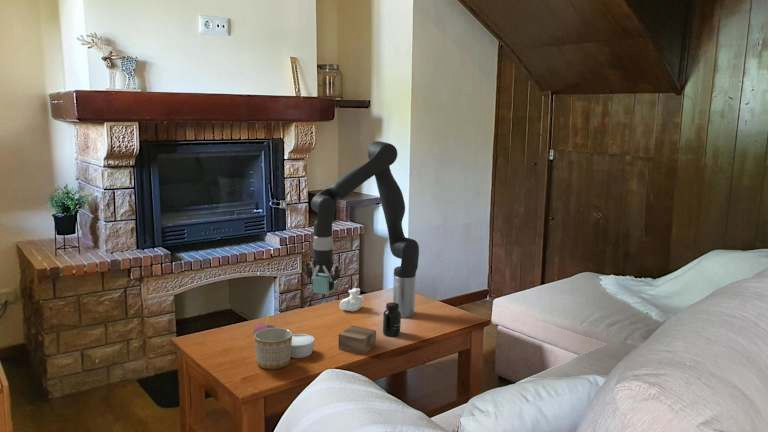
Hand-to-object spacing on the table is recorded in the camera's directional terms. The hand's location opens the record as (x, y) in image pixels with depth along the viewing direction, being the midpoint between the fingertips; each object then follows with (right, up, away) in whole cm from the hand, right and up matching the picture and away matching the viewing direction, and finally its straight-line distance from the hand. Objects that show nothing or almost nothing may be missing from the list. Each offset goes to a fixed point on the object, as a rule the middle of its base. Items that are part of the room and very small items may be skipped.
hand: (323, 289), depth 234 cm
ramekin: (-7, -21, -19) cm, 29 cm away
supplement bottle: (+26, -18, +1) cm, 32 cm away
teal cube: (0, -1, 0) cm, 1 cm away
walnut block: (+14, -20, -12) cm, 27 cm away
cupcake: (-21, -19, -10) cm, 30 cm away
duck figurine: (+10, -13, +28) cm, 32 cm away
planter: (-14, -22, -28) cm, 38 cm away
